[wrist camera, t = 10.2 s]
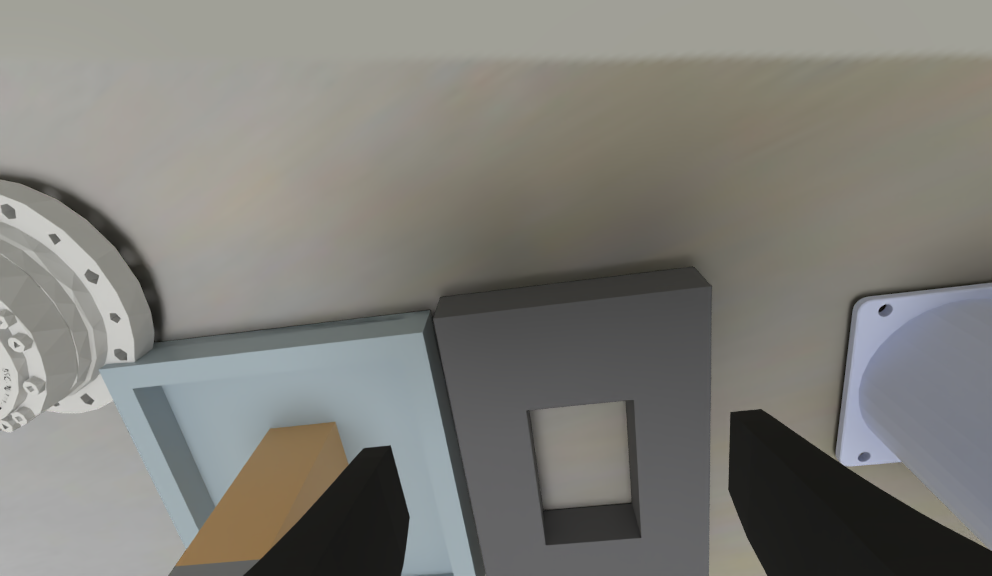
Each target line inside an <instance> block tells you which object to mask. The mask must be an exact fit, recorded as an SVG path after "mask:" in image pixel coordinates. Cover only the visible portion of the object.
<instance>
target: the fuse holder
mask: <svg viewBox="0 0 992 576" xmlns="http://www.w3.org/2000/svg"><path fill="white" fill-rule="evenodd" d="M711 310H712V286H711V285H710V284H709V283H708V282H707V280H706V279H705V278H704V277H703V276H702V275H701V274H700V273H699V272H698V271H697V270H696V269H695V268H694V267H688V268H680V269H671V270H663V271H655V272H646V273H638V274H630V275H622V276H613V277H605V278H597V279H588V280H580V281H572V282H563V283H555V284H547V285H539V286H530V287H522V288H514V289H505V290H497V291H489V292H480V293H472V294H464V295H456V296H447V297H440V300H439V303H438V306H437V309H436V312H435V315H434V318H433V320H434V325H435V330H436V335H437V340H438V344H439V349H440V354H441V359H442V364H443V368H444V373H445V378H446V383H447V388H448V393H449V397H450V402H451V407H452V412H453V417H454V422H455V426H456V431H457V436H458V441H459V446H460V450H461V455H462V460H463V465H464V470H465V475H466V479H467V484H468V489H469V494H470V499H471V504H472V508H473V513H474V518H475V523H476V528H477V533H478V537H479V542H480V547H481V552H482V557H483V561H484V566H485V571H486V576H709V507H710V408H711ZM616 401H626V413H627V430H628V446H629V463H630V479H631V496H632V503H631V504H619V505H607V506H595V507H584V508H572V509H560V510H548V511H543V505H542V498H541V491H540V484H539V477H538V470H537V463H536V456H535V449H534V442H533V435H532V427H531V420H530V413H529V410H537V409H546V408H556V407H566V406H576V405H586V404H596V403H606V402H616Z"/></svg>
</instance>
